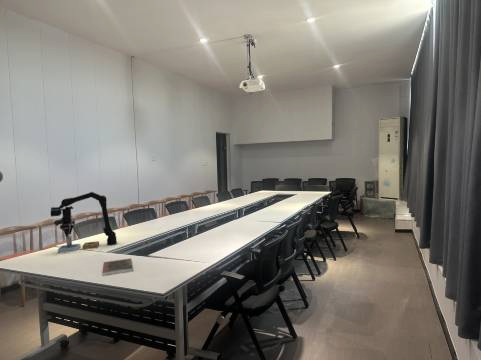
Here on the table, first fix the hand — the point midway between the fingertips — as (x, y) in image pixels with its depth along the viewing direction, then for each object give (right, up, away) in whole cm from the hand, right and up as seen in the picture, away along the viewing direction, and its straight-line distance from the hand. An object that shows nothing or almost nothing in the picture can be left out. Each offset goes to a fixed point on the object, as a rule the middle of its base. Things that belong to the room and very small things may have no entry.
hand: (68, 235), depth 238 cm
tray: (+1, -11, +1) cm, 11 cm away
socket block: (+15, -10, +5) cm, 19 cm away
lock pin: (+1, -11, +1) cm, 11 cm away
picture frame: (+56, -12, -46) cm, 73 cm away
